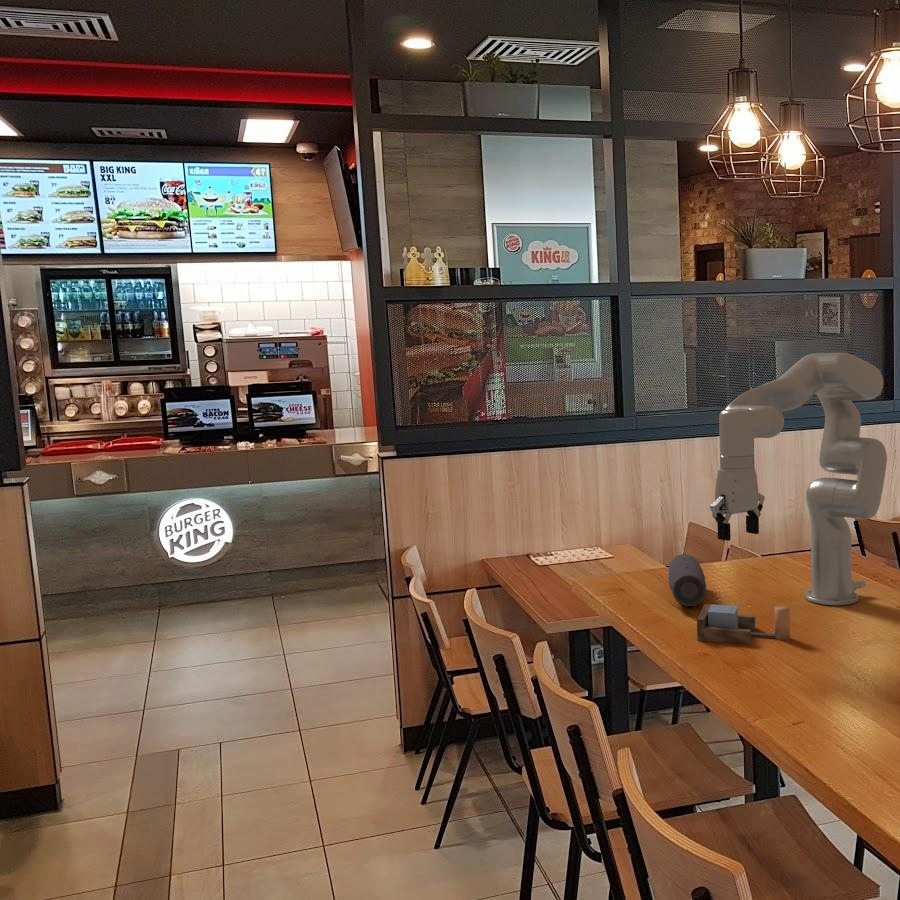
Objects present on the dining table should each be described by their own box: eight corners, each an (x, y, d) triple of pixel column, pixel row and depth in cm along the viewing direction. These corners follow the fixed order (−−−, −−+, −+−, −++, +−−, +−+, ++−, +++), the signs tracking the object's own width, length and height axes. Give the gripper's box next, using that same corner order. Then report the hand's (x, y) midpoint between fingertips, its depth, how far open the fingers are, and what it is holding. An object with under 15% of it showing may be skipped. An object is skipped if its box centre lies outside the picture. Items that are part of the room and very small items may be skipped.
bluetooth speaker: (709, 611, 226) (708, 573, 224) (671, 611, 227) (670, 573, 226) (702, 586, 248) (701, 551, 247) (667, 586, 250) (666, 552, 248)
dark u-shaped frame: (755, 627, 211) (755, 607, 210) (750, 644, 200) (749, 623, 199) (705, 624, 216) (704, 604, 215) (697, 640, 205) (696, 619, 204)
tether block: (790, 634, 205) (790, 605, 204) (789, 642, 199) (788, 612, 199) (712, 628, 212) (711, 600, 211) (708, 636, 207) (707, 607, 206)
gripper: (748, 457, 210) (750, 528, 212) (698, 465, 201) (699, 540, 203) (775, 460, 204) (776, 533, 206) (724, 468, 195) (726, 545, 197)
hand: (738, 536), depth 204 cm, fingers open, 9 cm apart
